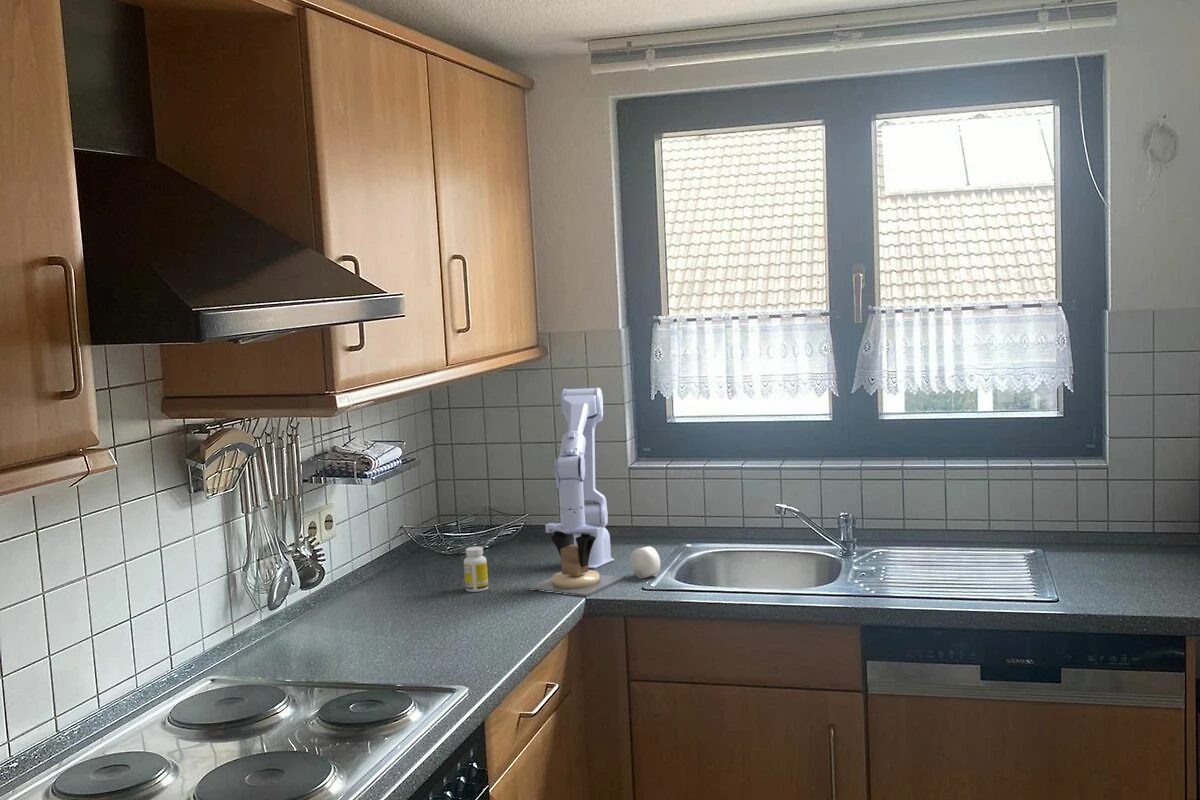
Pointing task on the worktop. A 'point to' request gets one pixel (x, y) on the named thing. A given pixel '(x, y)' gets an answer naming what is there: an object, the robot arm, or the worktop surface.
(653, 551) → the white round ball
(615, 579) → the base
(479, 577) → the supplement bottle
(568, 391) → the robot arm
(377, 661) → the worktop surface
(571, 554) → the block
